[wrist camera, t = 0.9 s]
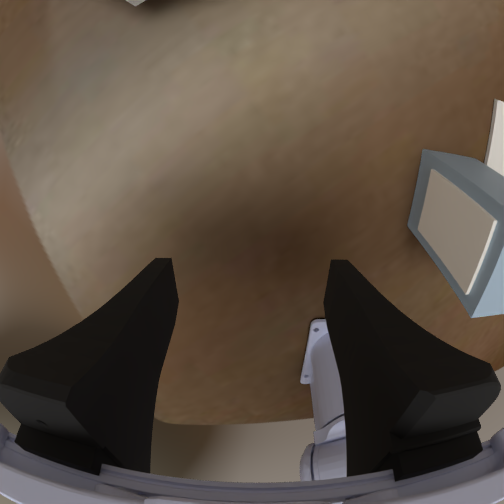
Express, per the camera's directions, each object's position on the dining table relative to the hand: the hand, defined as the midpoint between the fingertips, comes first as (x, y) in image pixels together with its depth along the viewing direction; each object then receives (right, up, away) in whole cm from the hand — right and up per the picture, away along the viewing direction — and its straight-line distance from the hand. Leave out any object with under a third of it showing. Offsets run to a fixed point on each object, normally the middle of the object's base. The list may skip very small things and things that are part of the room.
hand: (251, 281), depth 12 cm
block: (+14, +6, +9) cm, 17 cm away
